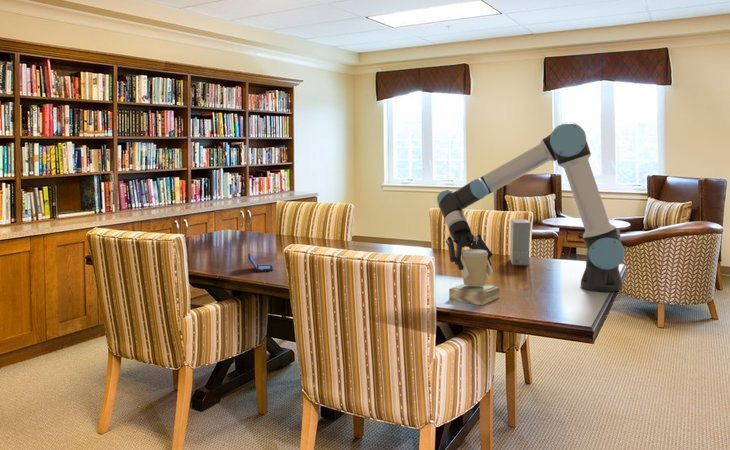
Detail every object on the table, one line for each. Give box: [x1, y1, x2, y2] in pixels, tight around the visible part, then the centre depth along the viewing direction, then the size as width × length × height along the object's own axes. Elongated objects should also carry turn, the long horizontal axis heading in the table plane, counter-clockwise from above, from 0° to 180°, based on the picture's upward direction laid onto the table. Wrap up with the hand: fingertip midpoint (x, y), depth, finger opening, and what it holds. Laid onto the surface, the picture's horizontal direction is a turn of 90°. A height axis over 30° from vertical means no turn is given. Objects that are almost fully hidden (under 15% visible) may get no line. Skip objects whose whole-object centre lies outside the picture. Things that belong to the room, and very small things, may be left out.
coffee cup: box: [461, 248, 488, 286], centre depth 213 cm, size 9×9×12 cm
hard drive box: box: [509, 218, 531, 266], centre depth 279 cm, size 16×8×20 cm, turn 170°
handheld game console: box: [247, 253, 274, 273], centre depth 273 cm, size 12×11×7 cm
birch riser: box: [448, 283, 500, 306], centre depth 215 cm, size 13×13×4 cm
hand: (479, 275), depth 211 cm, fingers closed on coffee cup, 9 cm apart
